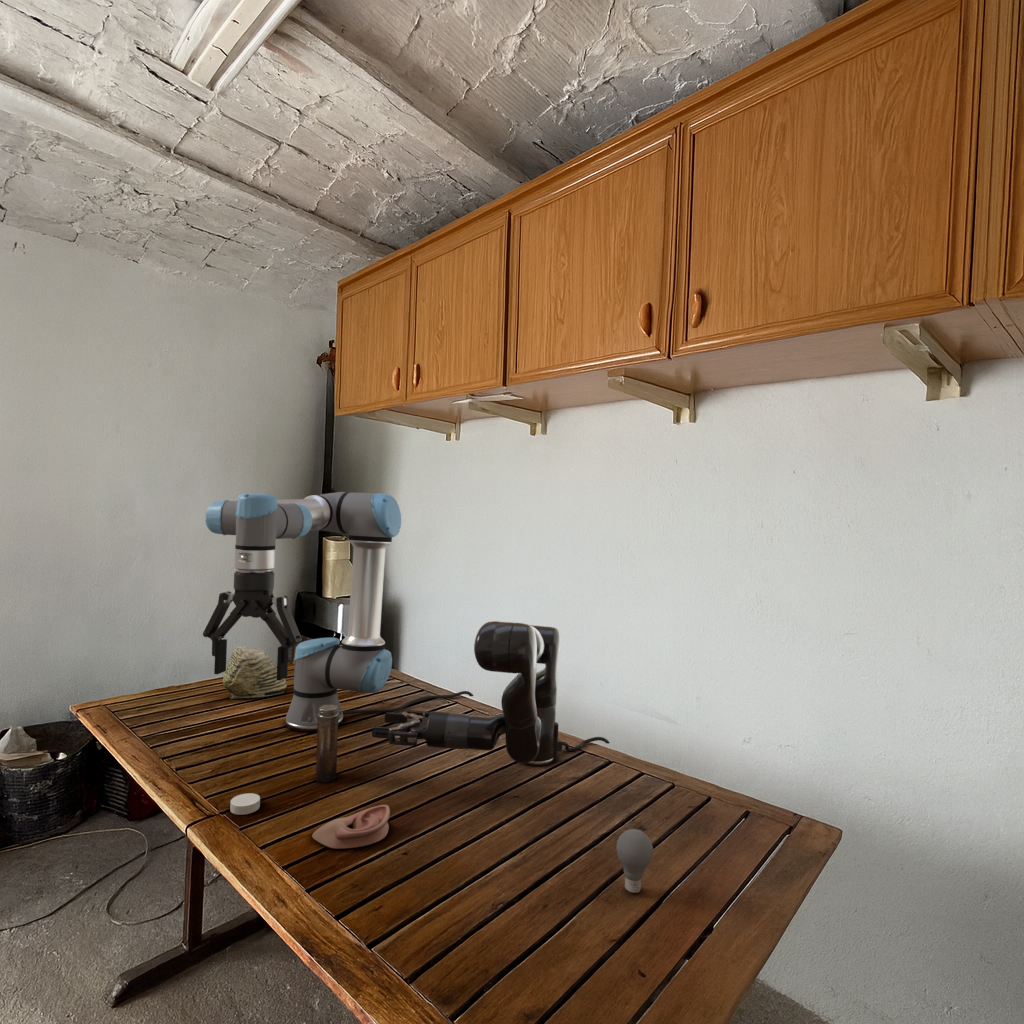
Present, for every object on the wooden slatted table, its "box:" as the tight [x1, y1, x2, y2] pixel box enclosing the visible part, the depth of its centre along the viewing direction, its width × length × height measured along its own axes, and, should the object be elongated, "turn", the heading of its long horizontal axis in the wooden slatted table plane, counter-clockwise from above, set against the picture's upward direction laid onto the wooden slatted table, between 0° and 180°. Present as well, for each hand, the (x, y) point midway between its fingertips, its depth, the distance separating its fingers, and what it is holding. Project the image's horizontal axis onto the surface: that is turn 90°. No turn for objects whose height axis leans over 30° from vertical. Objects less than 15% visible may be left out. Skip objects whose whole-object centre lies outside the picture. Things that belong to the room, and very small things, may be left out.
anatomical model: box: [311, 804, 391, 850], centre depth 119 cm, size 13×4×12 cm
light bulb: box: [615, 828, 654, 894], centre depth 106 cm, size 6×6×10 cm
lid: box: [229, 792, 261, 816], centre depth 128 cm, size 6×6×2 cm
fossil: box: [222, 646, 288, 699], centre depth 198 cm, size 9×18×15 cm, turn 132°
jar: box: [315, 705, 339, 783], centre depth 143 cm, size 4×4×16 cm
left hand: (250, 675), depth 127 cm, fingers open, 13 cm apart
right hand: (379, 724), depth 141 cm, fingers open, 8 cm apart
